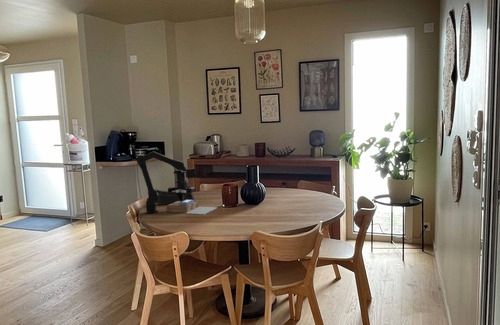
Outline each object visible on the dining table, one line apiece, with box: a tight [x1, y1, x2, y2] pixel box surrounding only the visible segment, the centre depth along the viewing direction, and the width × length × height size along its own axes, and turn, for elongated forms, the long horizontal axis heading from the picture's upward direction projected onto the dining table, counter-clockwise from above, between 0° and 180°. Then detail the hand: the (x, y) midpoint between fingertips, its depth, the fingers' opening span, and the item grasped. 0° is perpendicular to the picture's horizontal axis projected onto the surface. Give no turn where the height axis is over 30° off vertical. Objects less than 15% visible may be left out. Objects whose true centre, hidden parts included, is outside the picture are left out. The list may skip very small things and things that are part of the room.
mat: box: [186, 206, 218, 215], centre depth 269 cm, size 18×14×1 cm
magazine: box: [155, 188, 196, 205], centre depth 294 cm, size 17×3×30 cm
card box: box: [179, 199, 195, 206], centre depth 273 cm, size 9×6×2 cm, turn 156°
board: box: [166, 201, 199, 214], centre depth 275 cm, size 14×16×4 cm
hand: (182, 202), depth 274 cm, fingers closed
